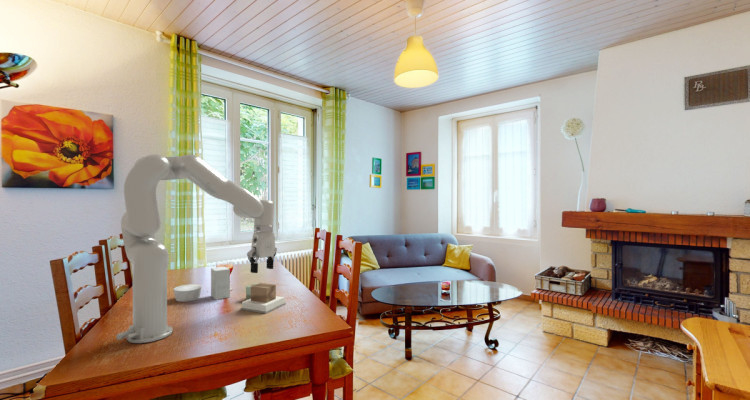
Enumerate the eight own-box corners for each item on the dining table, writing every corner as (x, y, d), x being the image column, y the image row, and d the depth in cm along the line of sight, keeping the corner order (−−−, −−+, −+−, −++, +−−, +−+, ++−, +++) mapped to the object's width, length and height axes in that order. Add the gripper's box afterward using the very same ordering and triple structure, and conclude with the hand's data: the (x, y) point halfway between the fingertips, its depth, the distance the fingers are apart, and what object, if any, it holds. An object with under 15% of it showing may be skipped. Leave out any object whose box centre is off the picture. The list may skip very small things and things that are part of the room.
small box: (230, 297, 156) (230, 269, 156) (215, 300, 152) (215, 270, 152) (225, 293, 162) (225, 266, 162) (210, 295, 158) (210, 267, 158)
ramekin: (193, 303, 148) (193, 290, 148) (167, 302, 148) (167, 290, 148) (206, 295, 159) (206, 284, 159) (182, 295, 160) (182, 283, 159)
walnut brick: (266, 302, 139) (266, 288, 139) (250, 300, 142) (250, 286, 142) (275, 298, 144) (275, 284, 144) (260, 296, 147) (260, 282, 147)
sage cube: (256, 301, 151) (256, 287, 151) (246, 299, 153) (245, 286, 153) (265, 297, 156) (265, 284, 156) (255, 296, 159) (255, 283, 158)
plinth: (266, 313, 135) (266, 306, 135) (240, 309, 140) (240, 302, 140) (285, 304, 147) (285, 297, 147) (261, 300, 151) (261, 293, 151)
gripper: (256, 231, 133) (255, 275, 133) (283, 228, 149) (282, 268, 149) (241, 230, 136) (239, 273, 136) (269, 228, 152) (268, 266, 152)
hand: (262, 270), depth 142 cm, fingers open, 9 cm apart
